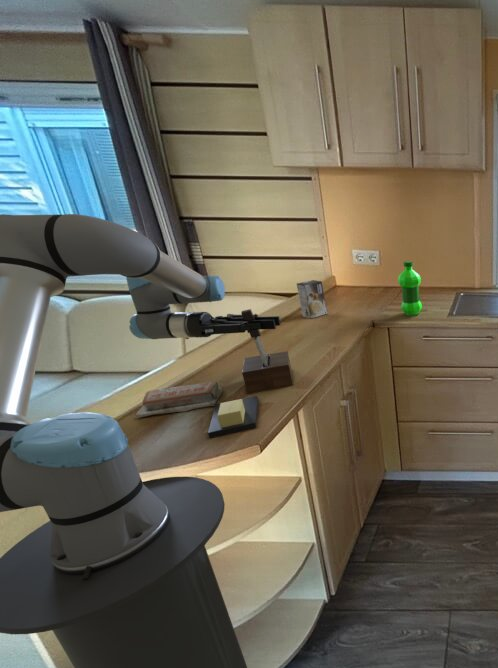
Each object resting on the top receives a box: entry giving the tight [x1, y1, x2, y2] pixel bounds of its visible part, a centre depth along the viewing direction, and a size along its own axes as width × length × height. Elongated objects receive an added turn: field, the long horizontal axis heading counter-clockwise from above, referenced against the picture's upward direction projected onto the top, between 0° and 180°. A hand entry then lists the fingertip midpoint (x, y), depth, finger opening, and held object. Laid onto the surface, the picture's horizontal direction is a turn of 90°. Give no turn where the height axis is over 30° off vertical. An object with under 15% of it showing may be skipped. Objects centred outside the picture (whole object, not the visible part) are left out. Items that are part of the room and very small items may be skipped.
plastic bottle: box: [397, 260, 423, 317], centre depth 191 cm, size 10×10×25 cm
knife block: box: [241, 351, 294, 394], centre depth 126 cm, size 12×12×7 cm
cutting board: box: [207, 395, 259, 439], centre depth 107 cm, size 16×10×2 cm, turn 27°
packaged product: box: [134, 381, 223, 419], centre depth 113 cm, size 18×5×10 cm
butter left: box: [217, 400, 232, 428], centre depth 103 cm, size 7×2×4 cm, turn 27°
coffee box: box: [296, 279, 328, 319], centre depth 190 cm, size 9×6×16 cm
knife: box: [240, 308, 270, 367], centre depth 122 cm, size 8×2×19 cm, turn 27°
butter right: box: [229, 398, 245, 425], centre depth 104 cm, size 7×2×4 cm, turn 27°
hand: (276, 322), depth 121 cm, fingers closed on knife, 3 cm apart
